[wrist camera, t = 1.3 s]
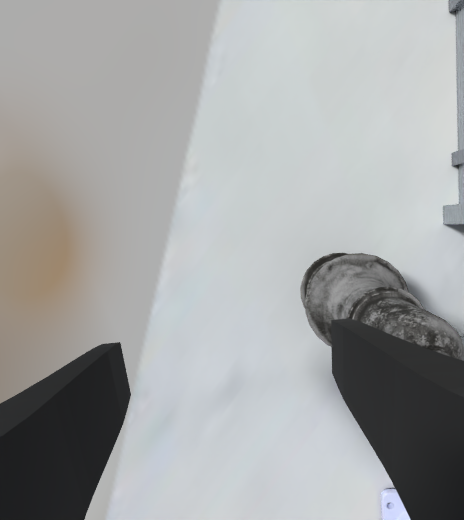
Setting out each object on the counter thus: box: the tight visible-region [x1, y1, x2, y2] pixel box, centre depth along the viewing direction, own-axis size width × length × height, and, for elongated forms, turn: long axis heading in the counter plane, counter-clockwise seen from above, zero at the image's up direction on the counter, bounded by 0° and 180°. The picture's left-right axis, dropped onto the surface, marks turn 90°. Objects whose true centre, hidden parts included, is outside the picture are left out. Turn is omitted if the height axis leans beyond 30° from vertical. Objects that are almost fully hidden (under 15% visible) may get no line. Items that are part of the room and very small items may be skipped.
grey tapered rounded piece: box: [301, 253, 464, 361], centre depth 15 cm, size 6×6×12 cm
